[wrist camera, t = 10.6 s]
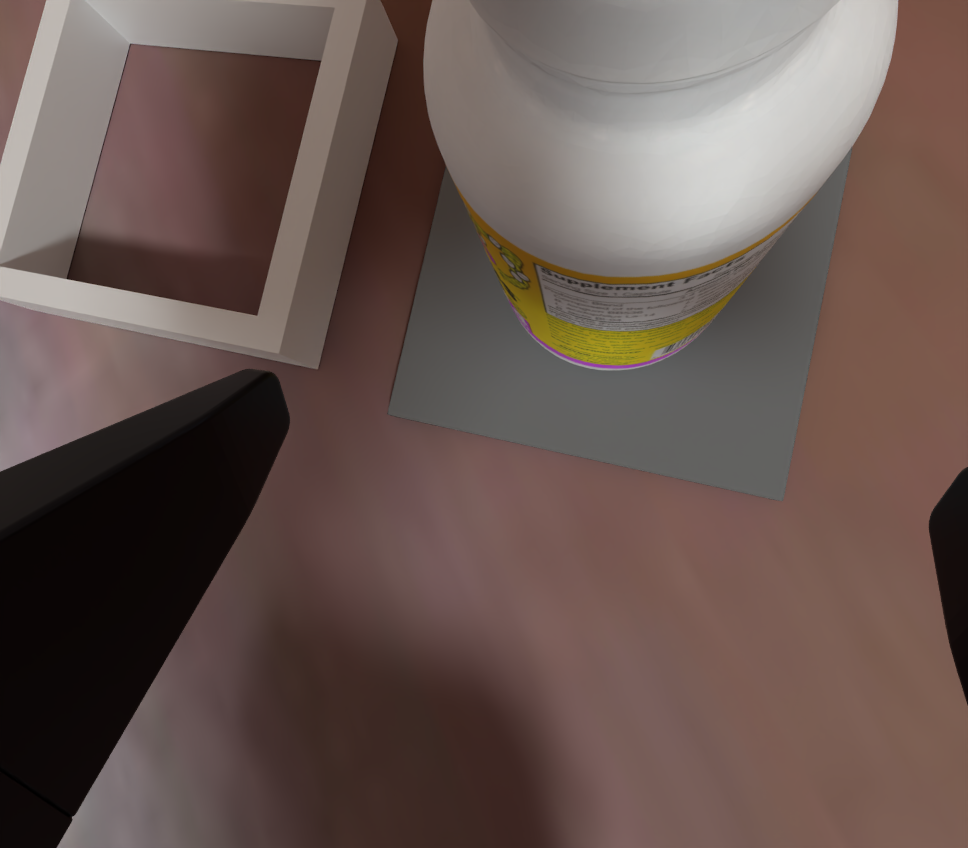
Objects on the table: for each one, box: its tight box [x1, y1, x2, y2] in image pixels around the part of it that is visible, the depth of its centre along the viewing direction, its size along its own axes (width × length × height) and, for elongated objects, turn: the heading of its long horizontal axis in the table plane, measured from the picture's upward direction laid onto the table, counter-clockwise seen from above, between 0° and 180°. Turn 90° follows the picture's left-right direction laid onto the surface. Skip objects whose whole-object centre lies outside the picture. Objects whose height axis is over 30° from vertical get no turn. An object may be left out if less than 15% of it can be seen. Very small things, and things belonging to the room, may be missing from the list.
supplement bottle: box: [423, 0, 898, 370], centre depth 11 cm, size 7×7×13 cm
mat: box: [387, 147, 852, 501], centre depth 18 cm, size 12×12×1 cm
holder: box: [0, 0, 398, 369], centre depth 20 cm, size 12×12×2 cm
